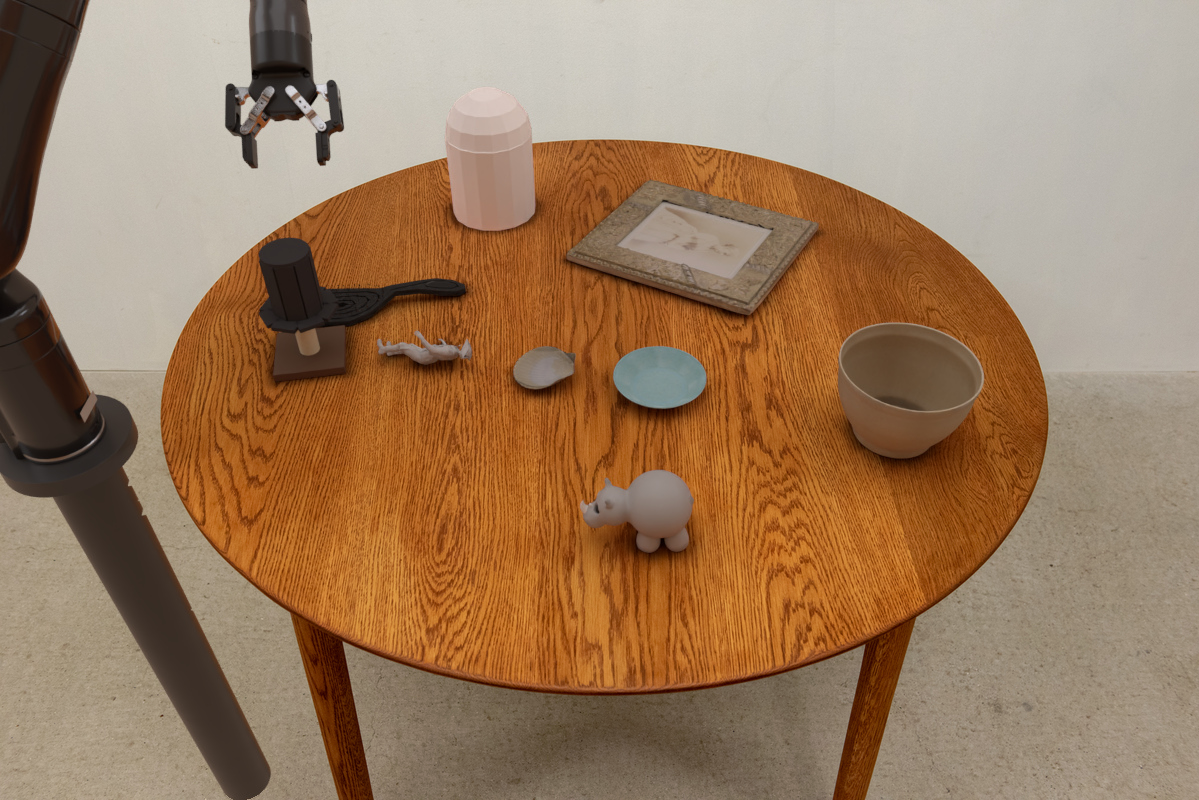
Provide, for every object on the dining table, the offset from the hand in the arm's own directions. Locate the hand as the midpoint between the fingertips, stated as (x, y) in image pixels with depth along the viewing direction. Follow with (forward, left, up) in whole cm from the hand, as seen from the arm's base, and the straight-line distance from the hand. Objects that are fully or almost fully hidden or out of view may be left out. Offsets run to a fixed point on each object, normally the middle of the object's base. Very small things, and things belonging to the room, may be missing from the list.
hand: (287, 165), depth 120 cm
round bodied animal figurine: (+35, -49, -22) cm, 64 cm away
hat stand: (-1, -12, -22) cm, 25 cm away
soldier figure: (+14, -16, -22) cm, 30 cm away
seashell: (+29, -22, -22) cm, 42 cm away
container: (+27, +21, -22) cm, 41 cm away
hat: (-1, -11, -14) cm, 18 cm away
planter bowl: (+69, -40, -22) cm, 83 cm away
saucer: (+43, -27, -22) cm, 55 cm away
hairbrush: (+8, -1, -22) cm, 23 cm away
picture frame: (+56, +4, -22) cm, 60 cm away
